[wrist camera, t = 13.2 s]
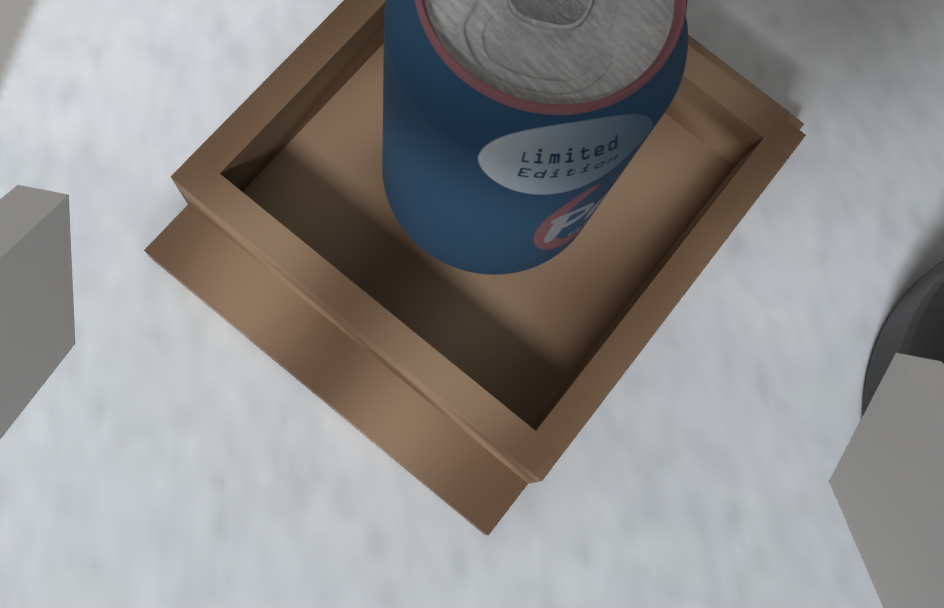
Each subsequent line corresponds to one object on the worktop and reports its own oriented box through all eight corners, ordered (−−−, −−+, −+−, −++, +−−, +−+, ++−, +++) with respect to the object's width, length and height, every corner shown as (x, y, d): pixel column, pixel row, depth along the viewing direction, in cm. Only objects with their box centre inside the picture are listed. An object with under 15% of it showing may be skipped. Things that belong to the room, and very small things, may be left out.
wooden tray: (791, 135, 33) (838, 91, 29) (484, 534, 29) (498, 537, 25) (491, -96, 34) (504, -163, 30) (152, 259, 30) (122, 225, 26)
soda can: (568, 305, 30) (691, 171, 18) (360, 259, 29) (347, 91, 18) (603, 114, 31) (737, -122, 20) (407, 68, 31) (424, -200, 19)
